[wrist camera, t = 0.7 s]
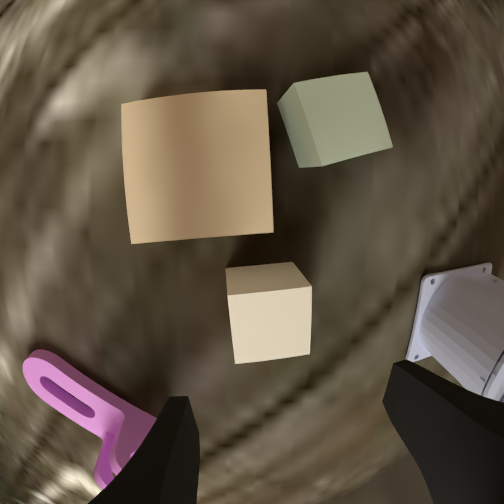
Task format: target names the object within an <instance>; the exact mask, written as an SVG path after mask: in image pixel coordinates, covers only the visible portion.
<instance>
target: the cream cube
mask: <svg viewBox="0 0 504 504" xmlns="http://www.w3.org/2000/svg"><path fill="white" fill-rule="evenodd" d="M226 281H227V295H228V305H229V314H230V323H231V332H232V340H233V349H234V357H235V364H238V363H248V362H257V361H265V360H273V359H280V358H287V357H294V356H300V355H306V354H310V338H311V308H312V286H311V285H310V283H309V282H308V281H307V279H306V278H305V277H304V276H303V274H302V273H301V272H300V271H299V269H298V268H297V267H296V266H295V264H294V263H293V262H286V263H276V264H265V265H255V266H244V267H233V268H226Z"/></svg>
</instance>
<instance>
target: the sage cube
mask: <svg viewBox="0 0 504 504" xmlns="http://www.w3.org/2000/svg"><path fill="white" fill-rule="evenodd" d="M277 105H278V108H279V110H280V113H281V116H282V119H283V122H284V124H285V127H286V130H287V133H288V136H289V139H290V142H291V145H292V148H293V151H294V154H295V157H296V160H297V163H298V167H299V168H304V167H318V166H325V165H328V164H332V163H335V162H339V161H342V160H346V159H350V158H353V157H357V156H361V155H365V154H368V153H372V152H376V151H380V150H384V149H388V148H392V147H393V146H392V142H391V139H390V135H389V132H388V128H387V125H386V122H385V119H384V116H383V112H382V109H381V106H380V104H379V101H378V98H377V95H376V92H375V89H374V87H373V84H372V82H371V79H370V76H369V74H368V72H360V73H352V74H344V75H336V76H330V77H323V78H317V79H312V80H306V81H301V82H296V83H293V84H292V86H291V87H290V88H289V89H288V90H287V92H286V93H285V94H284V95H283V96H282V98H281V99H280V100H279V101H278V103H277Z"/></svg>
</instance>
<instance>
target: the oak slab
mask: <svg viewBox="0 0 504 504" xmlns="http://www.w3.org/2000/svg"><path fill="white" fill-rule="evenodd" d="M122 151H123V169H124V182H125V194H126V204H127V213H128V221H129V229H130V236H131V243H132V244H136V243H147V242H158V241H170V240H181V239H193V238H206V237H218V236H231V235H245V234H258V233H273V232H274V231H273V206H272V183H271V162H270V144H269V126H268V109H267V94H266V89H264V90H227V91H211V92H199V93H189V94H180V95H173V96H165V97H158V98H152V99H146V100H140V101H135V102H130V103H125V104H122Z"/></svg>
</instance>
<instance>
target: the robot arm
mask: <svg viewBox="0 0 504 504" xmlns="http://www.w3.org/2000/svg"><path fill="white" fill-rule="evenodd" d="M491 272H492V264H491V263H489V262H488V263H483V264H478V265H474V266H469V267H464V268H459V269H454V270H449V271H444V272H438V273H433V274H428V275H425V276H424V277H423V278H422V281H421V286H420V293H419V299H418V304H417V310H416V315H415V320H414V325H413V330H412V334H411V339H410V343H409V347H408V351H407V355H406V360H402V361H399V362H396V363H393V366H392V370H391V374H390V378H389V381H388V385H387V388H386V392H385V395H384V398H383V401H382V402H383V404H384V407H385V409H386V411H387V414H388V416H389V418H390V420H391V422H392V424H393V426H394V427H395V429H396V431H397V432H398V434H399V436H400V437H401V439H402V440H403V442H404V443H405V445H406V447H407V448H408V450H409V451H410V453H411V455H412V456H413V458H414V459H415V461H416V463H417V464H418V466H419V468H420V470H421V472H422V475H423V477H424V479H425V481H426V484H427V486H428V489H429V492H430V495H431V497H432V500H433V503H434V504H504V280H502V279H500V278H498V277H496V276H494V275H492V274H491ZM431 280H432V282H431ZM429 356H433V357H434V358H435V359H436V360H437V361H438V362H439V363H440V364H441V365H442V366H443V367H444V368H445V369H446V370H447V371H448V372H449V373H450V374H451V375H453V376H454V377H455V378H456V379H457V380H458V381H459V382H460V384H461V385H462V386H463V387H464V388H465V389H464V388H462V387H460V386H458V385H456V384H454V383H452V382H450V381H448V380H446V379H444V378H442V377H440V376H438V375H436V374H434V373H432V372H431V371H429V370H427V369H425V368H423V367H421V366H419V365H417V364H415V363H413V362H415V361H418V360H421V359H423V358H426V357H429ZM199 464H200V443H199V431H198V428H197V425H196V422H195V418H194V415H193V412H192V408H191V405H190V401H189V398H188V396H177V397H169V398H168V399H167V401H166V403H165V405H164V407H163V408H162V410H161V412H160V414H159V416H158V417H157V419H156V421H155V423H154V424H153V426H152V428H151V429H150V431H149V432H148V434H147V435H146V437H145V438H144V440H143V442H142V443H141V445H140V446H139V447H138V449H137V450H136V452H135V453H134V454H133V456H132V457H131V458H130V460H129V461H128V462H127V464H126V465H125V466H124V467H123V469H122V470H121V471H120V472H119V473H118V474H117V476H116V477H115V478H114V479H113V480H112V481H111V482H110V483H109V484H108V485H107V486H106V487H105V488H104V489H103V490H102V491H101V492H100V493H99V494H98V495H97V496H96V497H95V498H94V499H92V500H91V501H90V502H89V503H88V504H196V501H197V488H198V476H199Z"/></svg>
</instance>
